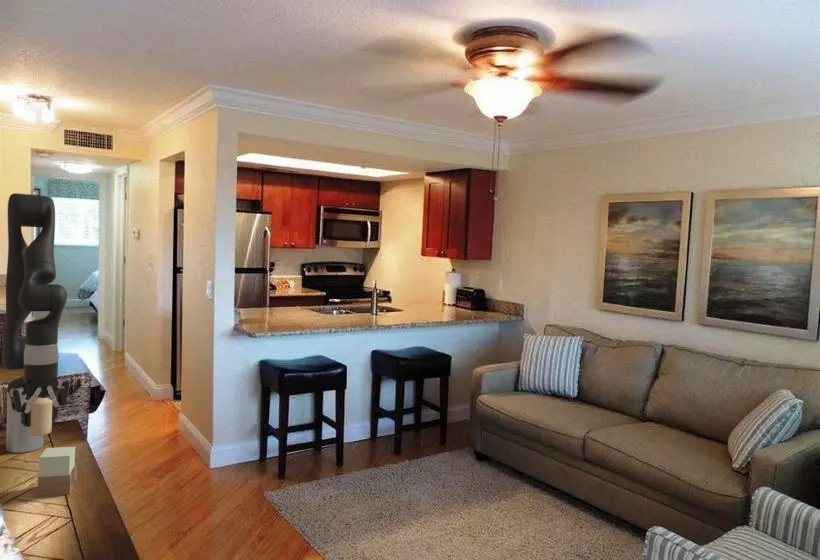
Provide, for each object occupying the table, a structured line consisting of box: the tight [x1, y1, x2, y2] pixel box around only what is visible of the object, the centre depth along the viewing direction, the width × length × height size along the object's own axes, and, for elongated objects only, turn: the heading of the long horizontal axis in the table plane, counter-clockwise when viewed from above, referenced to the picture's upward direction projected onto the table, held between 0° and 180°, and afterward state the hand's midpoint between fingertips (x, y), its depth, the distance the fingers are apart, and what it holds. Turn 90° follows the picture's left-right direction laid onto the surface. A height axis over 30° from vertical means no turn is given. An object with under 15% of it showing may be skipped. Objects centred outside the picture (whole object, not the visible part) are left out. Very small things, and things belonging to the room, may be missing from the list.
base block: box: [37, 464, 78, 498], centre depth 145 cm, size 7×7×5 cm
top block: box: [38, 446, 76, 477], centre depth 145 cm, size 6×6×5 cm
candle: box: [27, 397, 53, 436], centre depth 150 cm, size 6×6×10 cm
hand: (39, 423), depth 150 cm, fingers closed on candle, 5 cm apart
